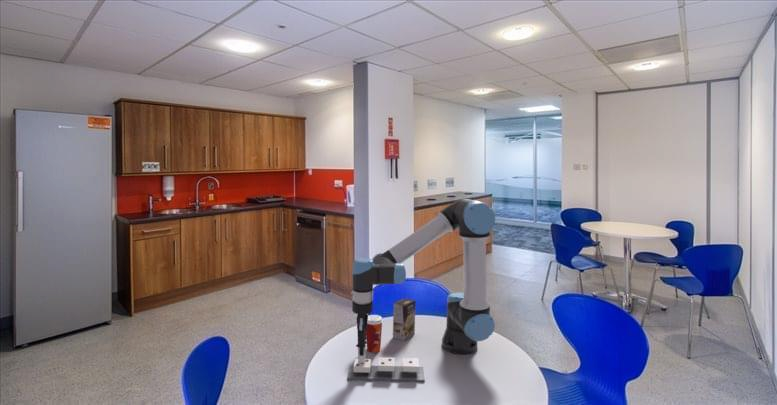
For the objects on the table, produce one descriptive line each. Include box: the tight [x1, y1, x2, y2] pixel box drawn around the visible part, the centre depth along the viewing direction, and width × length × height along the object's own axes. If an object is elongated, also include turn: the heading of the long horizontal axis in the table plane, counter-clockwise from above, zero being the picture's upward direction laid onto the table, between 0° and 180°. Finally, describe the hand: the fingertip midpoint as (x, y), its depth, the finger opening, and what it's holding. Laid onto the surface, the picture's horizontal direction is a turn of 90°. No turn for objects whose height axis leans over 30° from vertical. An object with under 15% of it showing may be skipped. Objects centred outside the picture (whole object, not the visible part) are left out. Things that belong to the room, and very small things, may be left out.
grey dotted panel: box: [347, 364, 426, 383], centre depth 144 cm, size 28×9×1 cm, turn 88°
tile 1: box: [401, 357, 420, 372], centre depth 143 cm, size 6×6×2 cm
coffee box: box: [392, 297, 416, 341], centre depth 176 cm, size 9×6×16 cm
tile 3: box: [353, 358, 372, 373], centre depth 144 cm, size 6×6×2 cm
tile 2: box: [377, 356, 396, 371], centre depth 144 cm, size 6×6×2 cm
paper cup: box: [366, 314, 384, 354], centre depth 162 cm, size 8×8×14 cm
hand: (361, 361), depth 144 cm, fingers closed
